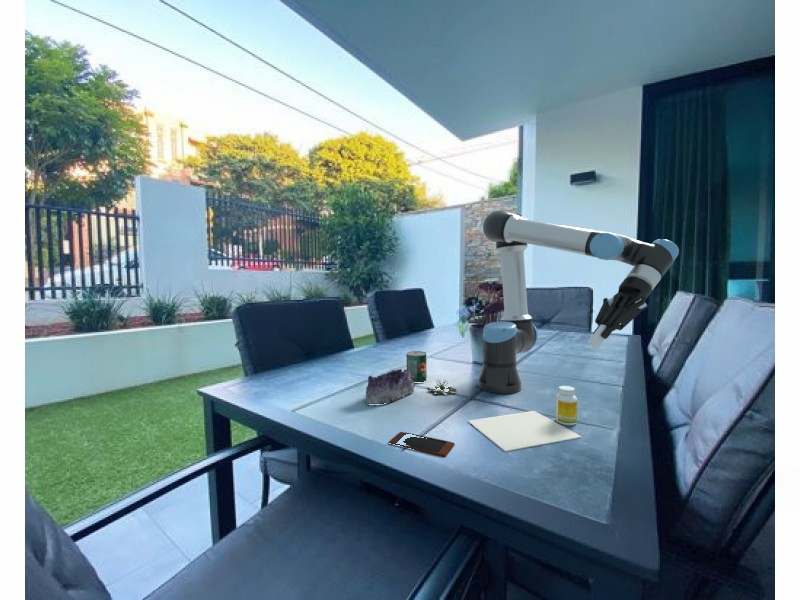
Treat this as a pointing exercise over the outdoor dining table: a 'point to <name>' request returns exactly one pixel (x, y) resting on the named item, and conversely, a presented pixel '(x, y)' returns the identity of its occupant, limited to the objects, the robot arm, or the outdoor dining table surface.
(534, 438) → the mat
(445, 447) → the smartphone
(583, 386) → the outdoor dining table surface
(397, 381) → the geode
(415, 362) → the canned tomato
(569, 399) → the supplement bottle
